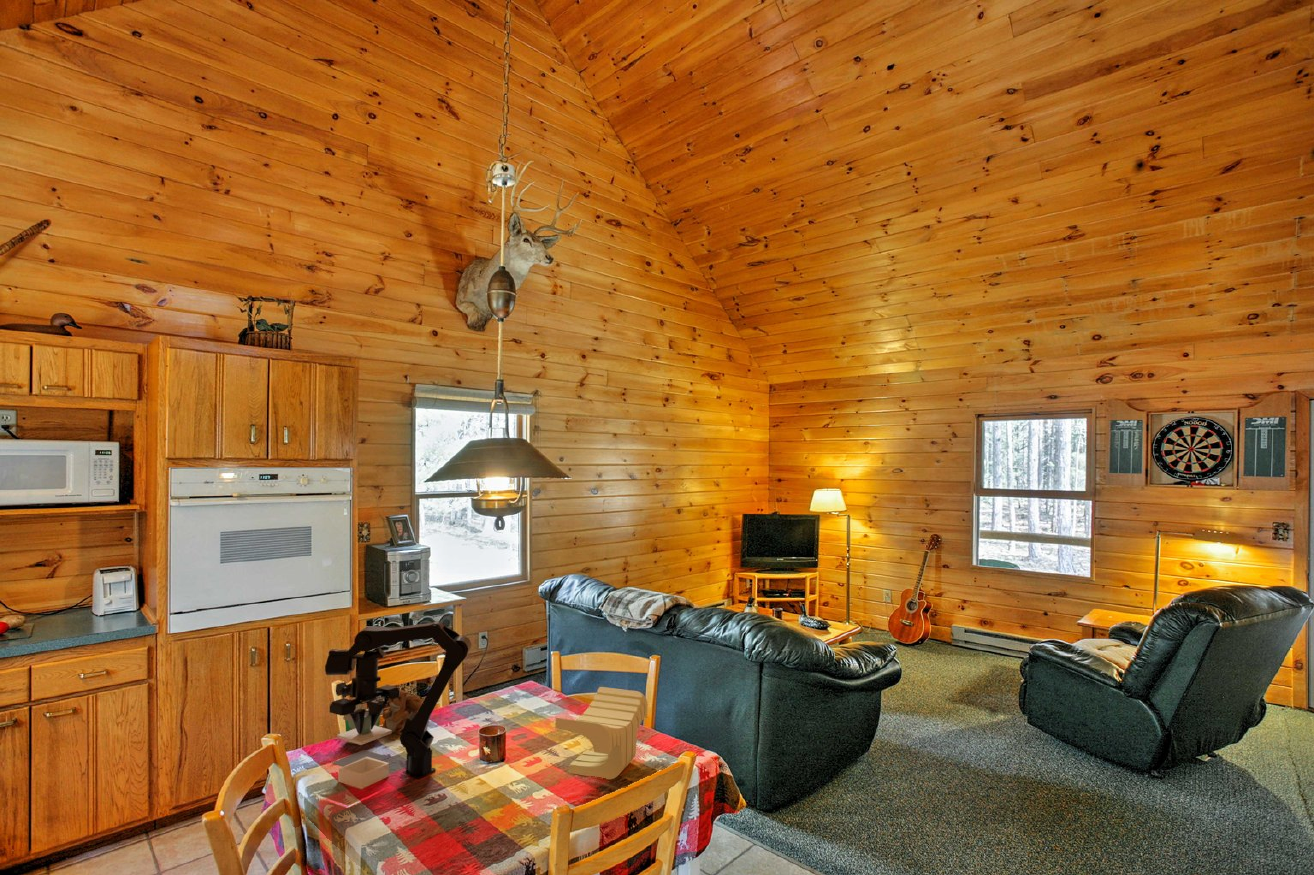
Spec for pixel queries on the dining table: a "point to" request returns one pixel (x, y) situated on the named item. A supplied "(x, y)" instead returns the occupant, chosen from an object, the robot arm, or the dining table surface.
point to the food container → (351, 725)
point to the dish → (363, 772)
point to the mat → (359, 757)
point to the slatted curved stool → (608, 732)
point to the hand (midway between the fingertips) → (365, 731)
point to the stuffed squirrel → (400, 711)
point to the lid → (364, 733)
